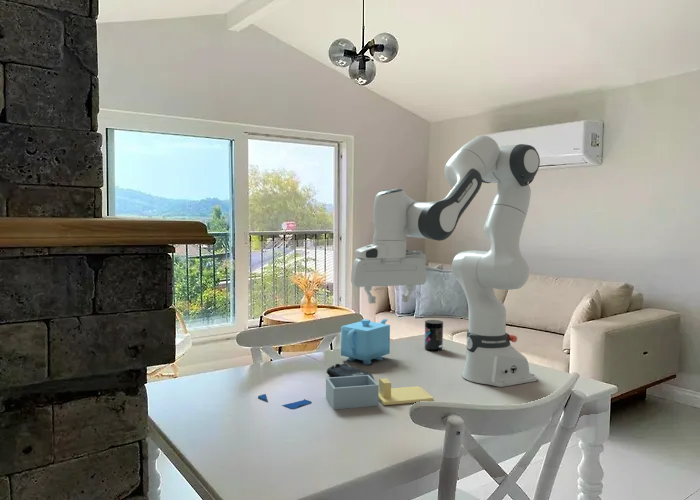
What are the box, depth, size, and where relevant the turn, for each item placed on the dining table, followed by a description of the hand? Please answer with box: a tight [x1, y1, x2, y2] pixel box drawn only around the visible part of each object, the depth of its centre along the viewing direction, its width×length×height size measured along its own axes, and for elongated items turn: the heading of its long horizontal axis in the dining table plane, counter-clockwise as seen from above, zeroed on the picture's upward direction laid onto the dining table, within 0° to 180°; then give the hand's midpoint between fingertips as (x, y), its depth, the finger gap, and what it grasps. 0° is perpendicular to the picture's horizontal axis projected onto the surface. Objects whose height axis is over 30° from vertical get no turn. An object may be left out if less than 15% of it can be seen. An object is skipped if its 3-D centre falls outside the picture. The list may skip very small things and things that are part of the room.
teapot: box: [340, 318, 391, 365], centre depth 186 cm, size 22×11×14 cm, turn 141°
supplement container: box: [424, 319, 444, 352], centre depth 198 cm, size 7×7×10 cm
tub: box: [325, 375, 379, 411], centre depth 142 cm, size 12×9×6 cm
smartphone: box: [257, 393, 313, 410], centre depth 144 cm, size 7×1×15 cm
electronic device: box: [326, 363, 375, 381], centre depth 162 cm, size 9×6×15 cm
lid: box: [378, 377, 435, 406], centre depth 146 cm, size 14×10×6 cm
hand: (388, 302), depth 143 cm, fingers open, 8 cm apart
